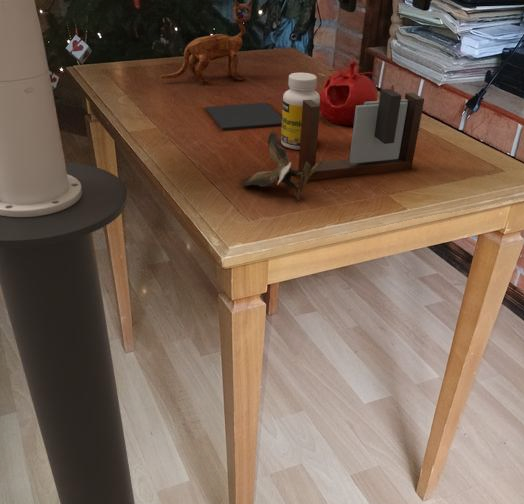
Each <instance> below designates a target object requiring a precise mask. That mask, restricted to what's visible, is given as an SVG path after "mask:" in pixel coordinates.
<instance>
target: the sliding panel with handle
mask: <svg viewBox="0 0 524 504" xmlns="http://www.w3.org/2000/svg"><path fill="white" fill-rule="evenodd" d="M401 99H402V94H400V93H398V92H396V91H395V90H393V89H392V88H385V89H384V88H383V89H382V88H381V89H380V93H379V100H378V101H379V104H371V105H357V106H356V110H355V118H354V125H353V127H352V136H351V144H350V152H349V159H350V161H349V162H350V163H351V164H353V163H363V162H373V161H383V160H393V159H398V158H399V152H400V146H401V140H402V134H403V128H404V122H405V116H406V110H407V104H408V103H406V102H401Z"/></svg>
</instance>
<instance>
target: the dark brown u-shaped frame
mask: <svg viewBox="0 0 524 504" xmlns="http://www.w3.org/2000/svg"><path fill="white" fill-rule="evenodd" d="M401 102H406V103H408V104H407V110H406V116H405V122H404V128H403V134H402V140H401V146H400V152H399V158H398V159H393V160H383V161H373V162H363V163H353V164H351V163H350V162H349V161H350V158H346V159H337V160H325V161H322V162H321V164H320V166H319V167H318V168H317V170H316V171H315V172H314V173H313V174H312V175H311V176H310V178H309V179H308V181H317V180H326V179H335V178H344V177H353V176H364V175H372V174H383V173H390V172H400V171H409V170H412V169H413V165H414V164H413V163H414V158H415V152H416V147H417V141H418V135H419V130H420V125H421V120H422V114H423V109H424V103H425V98H424V97H421V96H420V95H418V94H416V93H415V92H405V95H404V98H401ZM371 104H379V100H377V101H370V102H364V105H371ZM320 114H321V112H320V106H319V105H317V104H316V103H315V102H314V101H312V100H303V108H302V123H301V138H300V150H299V155H298V168H297V172H299V173H300V172H302V173H303V169H304V166H305V163H306V161H307V162H308V163H309V164H310V166H311V169H312V168H313V167H314V166H315V164H317V163H318V162H319V161H317V160H316V159H317V147H318V137H319V125H320ZM316 161H317V162H316Z"/></svg>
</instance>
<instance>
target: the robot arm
mask: <svg viewBox="0 0 524 504" xmlns="http://www.w3.org/2000/svg"><path fill="white" fill-rule="evenodd" d="M337 1H338V3H339V8H340V9H341V10H343V11H346V12H348V13H354V12H355V11H356V10H357V0H337ZM431 2H433V0H412V2H411V5H412V7H413V8H415V9H417V10H420V11H423V12H429V10H430V8H431V4H432V3H431ZM38 15H39V14H38V11H37V6H36V1H35V0H0V215H1V216H7V217H18V218H22V217H37V216H43V215H48V214H52V213H56V212H59V211H62V210H64V209H67V208H68V207H70V206H72V205H74V204H75V203H76V202H77V201H78V200H79V199H80V198H81V196H82V187H81V184H80V182H79V181H78V180H77V179H76V178H74V177H73V176H70V175H68V174H67V171H66V165H65V162H66V160H65V153H64V150H63V143H62V142H63V141H62V137H61V132H60V126H59V119H58V114H57V108H56V102H55V97H54V91H53V85H52V79H51V73H50V68H49V65H48V59H47V53H46V47H45V42H44V37H43V32H42V28H41V23H40V19H39V16H38Z"/></svg>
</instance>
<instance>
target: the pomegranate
mask: <svg viewBox="0 0 524 504" xmlns="http://www.w3.org/2000/svg"><path fill="white" fill-rule="evenodd" d="M356 65H357V61H356V60H354V59H352V60H350V61H349V67H346V66H341V69H343V70H344V71H341V70H340V69H337V68H334V69H328V70H327V72H331V71H334V72H335V73H331V74H330V75H329V76H328V78H327V80H326V81H325V82H324V84H323V86H322V90H321V91H320V92H319V93H318V94H319V96H320V114H321V115H322V116H323V118H325V119H326V120H327V121H329V122H331V123H333V124H336V125H345V126H354V118H355V110H356V106H357V105H364V102H370V101H378V88H377V86H376V84H375V82H374V81H373V80H372V79H371V78H370V77H368V76H367V74H370V75H373V76H374V75H377V73H376V72H375V73H374V72H371V71H366V72H357V71H358V70H359V69H360V70H362V69H363V68H362V67H361V66H359V65H357V66H356Z"/></svg>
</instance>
